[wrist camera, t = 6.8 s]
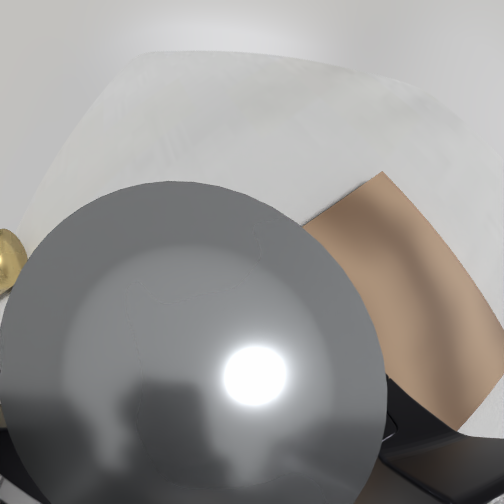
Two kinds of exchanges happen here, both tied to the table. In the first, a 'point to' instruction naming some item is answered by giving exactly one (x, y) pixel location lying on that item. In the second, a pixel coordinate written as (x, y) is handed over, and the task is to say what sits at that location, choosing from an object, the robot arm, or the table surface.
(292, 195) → the table surface
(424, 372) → the board
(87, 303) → the grey cylinder
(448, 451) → the robot arm
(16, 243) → the shiny gold nugget
